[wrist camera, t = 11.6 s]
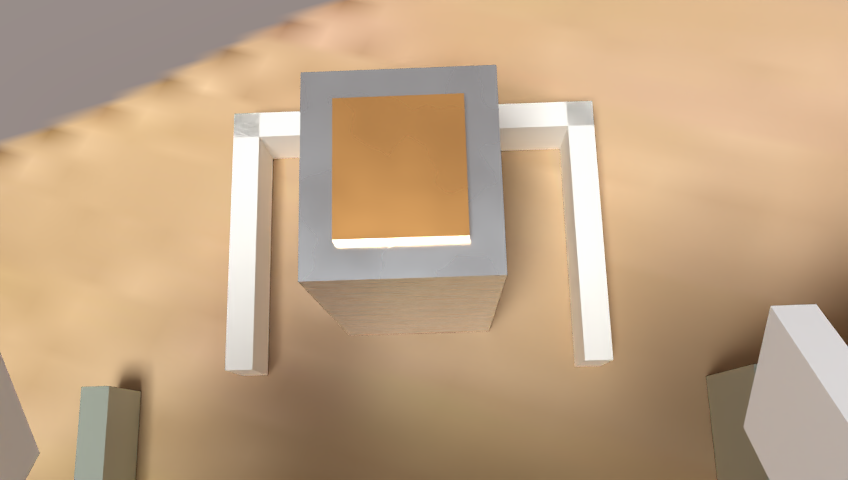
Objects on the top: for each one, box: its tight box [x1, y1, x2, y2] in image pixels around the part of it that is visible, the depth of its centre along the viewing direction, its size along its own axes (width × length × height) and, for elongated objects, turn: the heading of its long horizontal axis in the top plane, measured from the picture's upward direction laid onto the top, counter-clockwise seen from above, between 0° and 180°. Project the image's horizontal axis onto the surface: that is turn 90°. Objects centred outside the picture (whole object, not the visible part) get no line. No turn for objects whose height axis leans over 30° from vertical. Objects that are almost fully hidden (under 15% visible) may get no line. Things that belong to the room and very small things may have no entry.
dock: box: [225, 101, 613, 376], centre depth 31 cm, size 14×10×2 cm
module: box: [298, 65, 507, 336], centre depth 27 cm, size 6×6×11 cm
